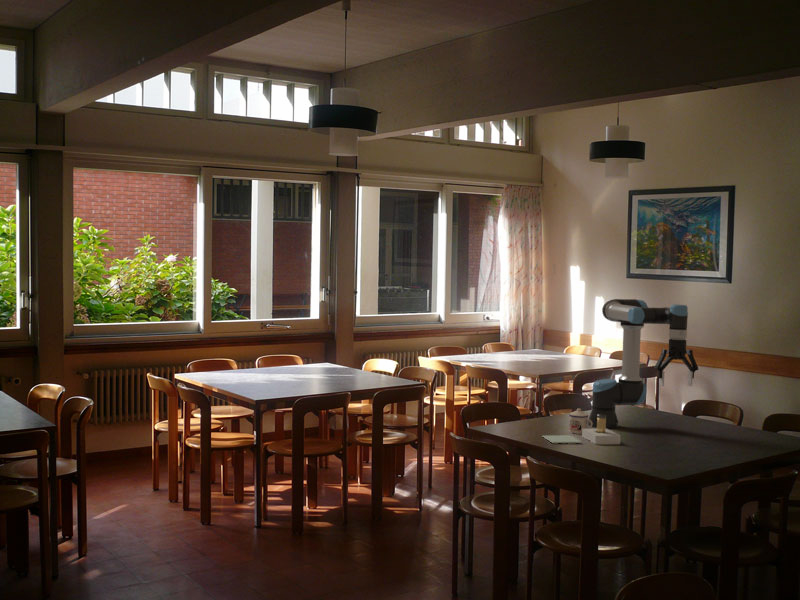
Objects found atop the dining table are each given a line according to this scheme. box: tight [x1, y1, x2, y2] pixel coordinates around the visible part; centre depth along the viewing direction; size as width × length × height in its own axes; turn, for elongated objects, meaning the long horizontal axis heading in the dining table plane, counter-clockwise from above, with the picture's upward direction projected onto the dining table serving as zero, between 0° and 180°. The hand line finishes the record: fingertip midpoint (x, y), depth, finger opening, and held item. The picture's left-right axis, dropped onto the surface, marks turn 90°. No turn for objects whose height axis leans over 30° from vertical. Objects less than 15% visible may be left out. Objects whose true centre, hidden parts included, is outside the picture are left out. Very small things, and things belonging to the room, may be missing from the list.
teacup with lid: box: [568, 408, 593, 435], centre depth 396 cm, size 12×9×12 cm
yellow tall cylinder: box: [596, 414, 607, 433], centre depth 380 cm, size 4×4×12 cm
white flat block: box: [581, 428, 621, 445], centre depth 380 cm, size 16×12×4 cm
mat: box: [541, 434, 583, 444], centre depth 377 cm, size 14×14×1 cm
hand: (675, 385), depth 370 cm, fingers open, 13 cm apart
